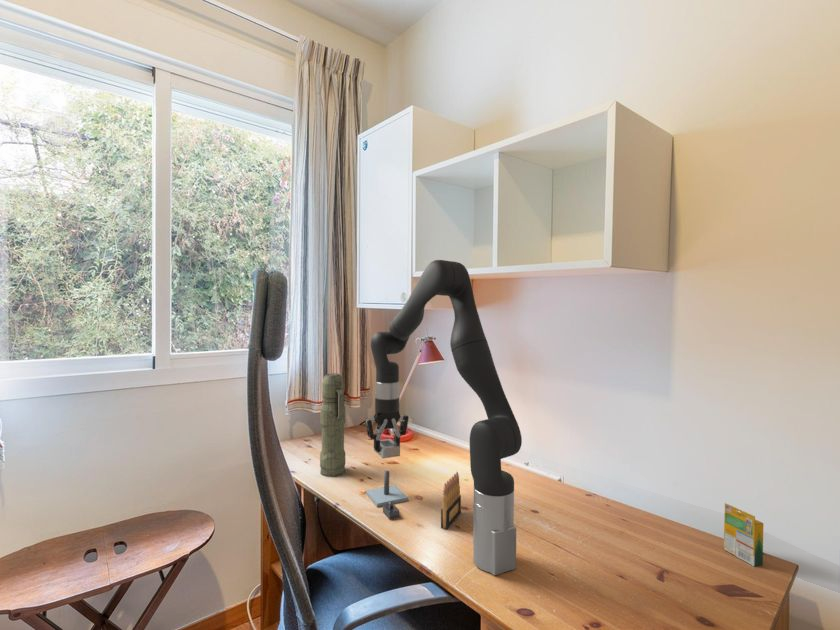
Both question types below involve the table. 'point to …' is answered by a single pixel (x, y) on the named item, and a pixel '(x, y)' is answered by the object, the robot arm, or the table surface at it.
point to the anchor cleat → (391, 510)
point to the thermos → (332, 426)
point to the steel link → (388, 449)
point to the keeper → (386, 493)
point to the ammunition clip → (450, 502)
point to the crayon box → (743, 535)
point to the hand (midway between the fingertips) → (386, 449)
